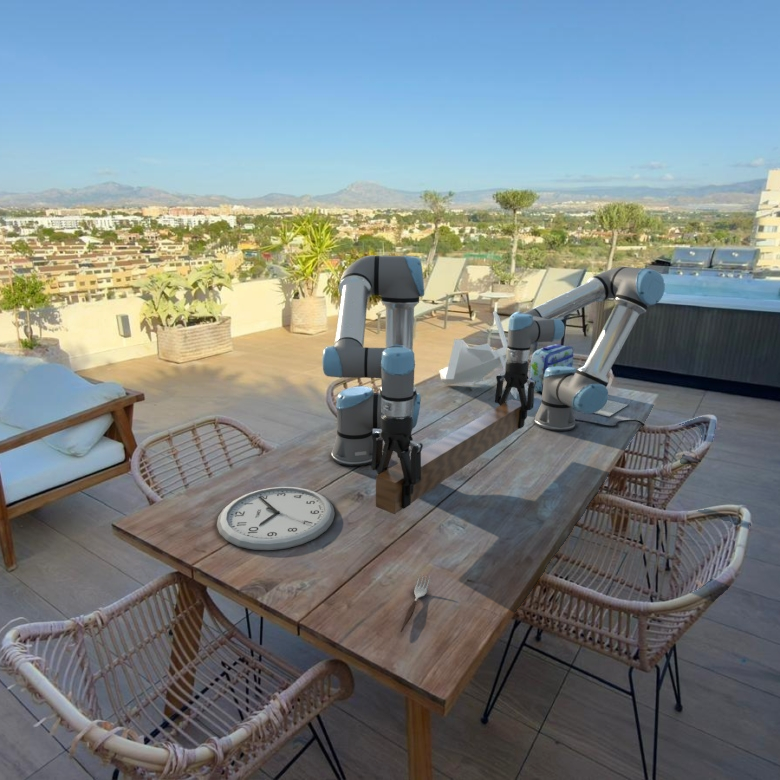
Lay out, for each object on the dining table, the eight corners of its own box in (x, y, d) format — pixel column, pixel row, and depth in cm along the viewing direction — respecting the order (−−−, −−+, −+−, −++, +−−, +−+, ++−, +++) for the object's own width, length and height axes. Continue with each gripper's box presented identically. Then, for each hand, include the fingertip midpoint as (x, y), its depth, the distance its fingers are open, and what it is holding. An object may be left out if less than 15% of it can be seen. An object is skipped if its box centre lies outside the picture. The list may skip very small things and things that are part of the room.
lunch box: (545, 397, 238) (550, 352, 231) (524, 391, 245) (529, 348, 239) (572, 386, 255) (578, 344, 249) (552, 381, 262) (557, 340, 256)
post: (508, 421, 187) (510, 399, 184) (524, 425, 184) (526, 402, 181) (375, 506, 128) (375, 475, 126) (394, 514, 125) (395, 482, 122)
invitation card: (608, 416, 214) (573, 407, 224) (608, 416, 214) (573, 408, 224) (628, 404, 229) (594, 396, 238) (628, 405, 229) (594, 397, 238)
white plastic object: (461, 429, 252) (437, 405, 227) (444, 352, 274) (420, 323, 250) (535, 404, 240) (518, 377, 215) (510, 326, 262) (492, 293, 237)
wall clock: (333, 542, 123) (202, 546, 121) (333, 547, 124) (203, 552, 121) (335, 482, 152) (229, 485, 149) (335, 487, 152) (230, 490, 150)
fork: (394, 632, 98) (394, 623, 98) (419, 581, 113) (419, 573, 112) (407, 636, 97) (407, 627, 97) (430, 584, 112) (431, 576, 111)
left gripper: (356, 409, 125) (356, 495, 132) (421, 428, 114) (418, 521, 121) (375, 401, 131) (375, 484, 138) (439, 418, 120) (435, 508, 127)
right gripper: (486, 358, 178) (482, 422, 185) (539, 367, 167) (533, 434, 174) (496, 354, 183) (492, 416, 190) (549, 363, 172) (542, 428, 179)
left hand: (395, 501), depth 129 cm, fingers closed on post, 6 cm apart
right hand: (511, 425), depth 182 cm, fingers closed on post, 6 cm apart
